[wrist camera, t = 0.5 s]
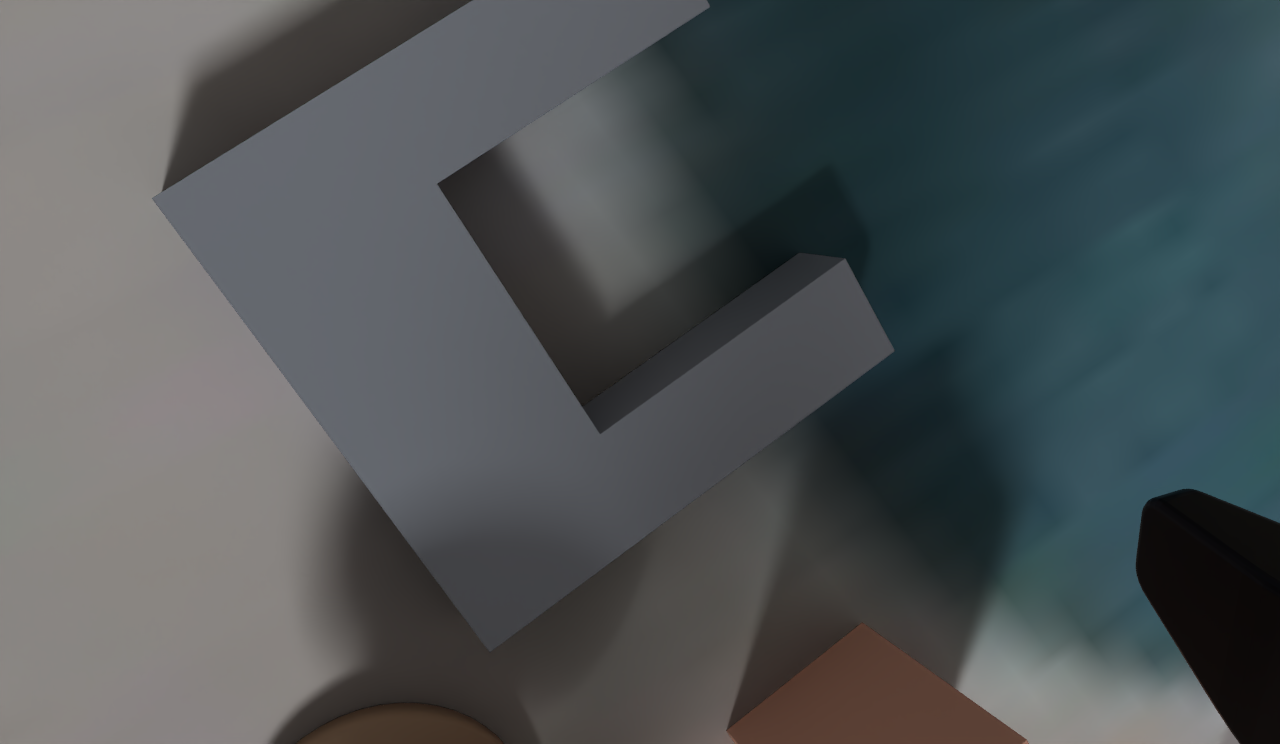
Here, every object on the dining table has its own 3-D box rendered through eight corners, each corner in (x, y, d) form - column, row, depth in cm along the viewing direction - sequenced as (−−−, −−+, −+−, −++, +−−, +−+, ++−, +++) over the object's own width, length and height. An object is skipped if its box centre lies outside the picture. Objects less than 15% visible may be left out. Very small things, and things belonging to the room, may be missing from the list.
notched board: (846, 338, 25) (894, 350, 23) (470, 614, 23) (489, 652, 22) (614, -84, 22) (648, -109, 20) (160, 196, 20) (151, 198, 18)
